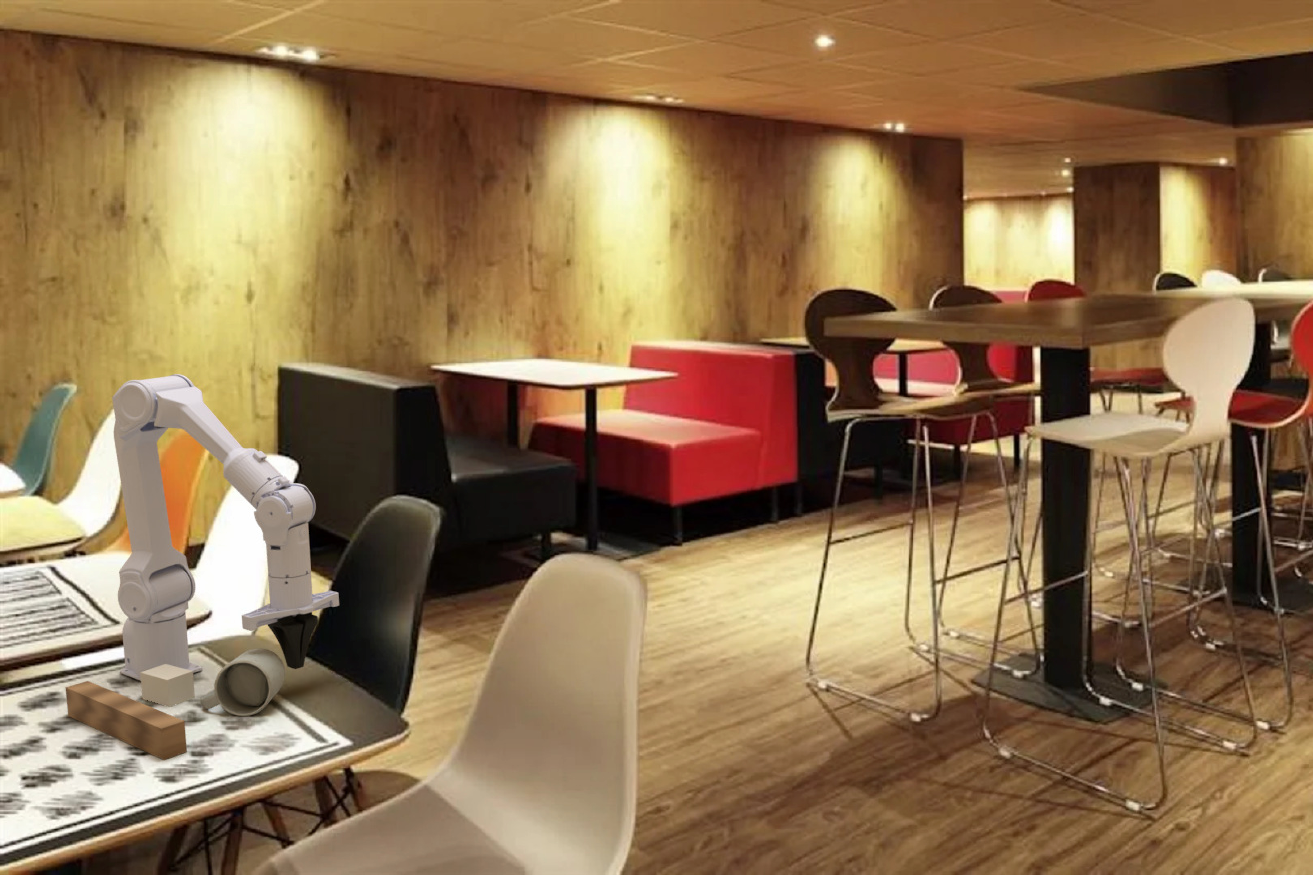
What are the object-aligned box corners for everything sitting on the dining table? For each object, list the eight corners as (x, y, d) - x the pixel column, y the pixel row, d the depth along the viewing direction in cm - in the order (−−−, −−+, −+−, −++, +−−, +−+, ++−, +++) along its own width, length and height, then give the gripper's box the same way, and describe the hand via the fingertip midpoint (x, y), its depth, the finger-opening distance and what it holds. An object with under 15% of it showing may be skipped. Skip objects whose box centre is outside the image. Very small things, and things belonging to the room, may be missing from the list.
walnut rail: (68, 715, 157) (65, 687, 156) (90, 709, 159) (87, 680, 158) (164, 760, 142) (161, 728, 142) (186, 751, 145) (184, 720, 144)
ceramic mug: (290, 693, 164) (286, 640, 163) (273, 715, 156) (268, 660, 155) (214, 696, 164) (209, 644, 162) (193, 719, 155) (187, 663, 154)
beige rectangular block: (142, 700, 163) (140, 672, 162) (167, 690, 166) (165, 663, 165) (169, 708, 159) (167, 680, 159) (194, 698, 163) (192, 671, 162)
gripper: (260, 589, 155) (267, 687, 157) (350, 566, 166) (355, 657, 168) (230, 581, 159) (237, 676, 161) (319, 559, 170) (324, 648, 172)
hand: (295, 666), depth 165 cm, fingers closed
